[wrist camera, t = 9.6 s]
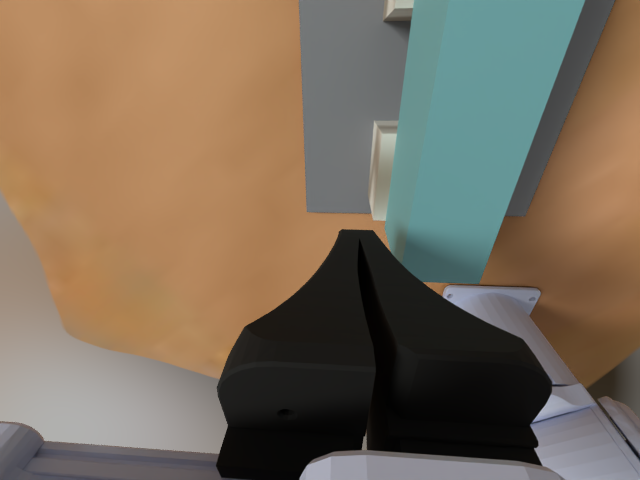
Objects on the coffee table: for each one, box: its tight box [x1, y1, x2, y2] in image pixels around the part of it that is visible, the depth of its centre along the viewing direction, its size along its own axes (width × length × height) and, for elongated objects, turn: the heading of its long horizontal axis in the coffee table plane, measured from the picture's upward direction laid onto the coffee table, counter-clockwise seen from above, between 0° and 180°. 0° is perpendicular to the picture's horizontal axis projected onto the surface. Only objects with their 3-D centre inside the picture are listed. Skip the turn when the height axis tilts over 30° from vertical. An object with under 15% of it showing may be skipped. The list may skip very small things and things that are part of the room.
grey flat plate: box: [299, 0, 615, 216], centre depth 17 cm, size 18×16×1 cm
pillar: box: [368, 121, 398, 221], centre depth 17 cm, size 5×5×4 cm
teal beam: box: [385, 0, 585, 284], centre depth 11 cm, size 16×4×5 cm, turn 1°
